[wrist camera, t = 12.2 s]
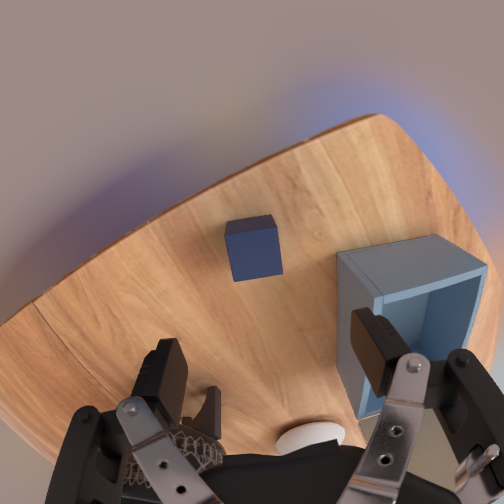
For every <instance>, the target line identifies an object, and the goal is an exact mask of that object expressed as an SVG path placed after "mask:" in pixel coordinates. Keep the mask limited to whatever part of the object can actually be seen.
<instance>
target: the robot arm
mask: <svg viewBox="0 0 504 504" xmlns="http://www.w3.org/2000/svg"><path fill="white" fill-rule="evenodd" d="M350 341H351V346H352V348H353V351H354V353H355V354H356V356H357V358H358V360H359V362H360V364H361V366H362V368H363V370H364V372H365V374H366V377H367V379H368V381H369V383H370V385H371V387H372V389H373V391H374V393H375V395H376V397H377V399H378V398H381V397H384V396H386V399H385V402H384V405H383V408H382V410H381V413H380V415H379V418H378V421H377V423H376V426H375V428H374V430H373V433H372V435H371V438H370V440H369V442H368V444H367V447H366V449H363V448H360V447H356V446H349V445H339V444H338V441H337V439H333V440H329V441H325V442H320V443H316V444H311V445H308V446H305V447H303V448H301V449H298V450H296V451H293V452H290V453H288V454H285V455H282V456H272V455H260V454H239V455H223V463H219V464H216V465H213V466H211V467H209V468H207V469H206V470H204V471H202V472H201V473H200V474H198V472H197V471H196V470H195V469H194V468H193V466H192V465H191V464H190V463H189V461H188V460H187V459H186V458H185V456H184V455H183V454H182V453H181V451H180V450H179V449H178V447H177V446H176V445H175V443H174V442H173V440H172V439H171V438H170V436H169V430H170V429H178V428H179V422H180V416H181V410H182V404H183V398H184V393H185V387H186V381H187V376H188V366H187V362H186V360H185V357H184V355H183V352H182V350H181V347H180V345H179V342H178V340H177V338H168V339H160V340H159V343H158V345H157V348H156V350H151V351H150V352H149V354H148V355H147V356H146V357H145V358H144V361H143V364H142V367H141V369H140V372H139V373H140V374H138V377H137V380H136V383H135V385H134V388H133V391H132V394H131V397H128V398H125V399H124V400H122V401H121V402H120V403H119V404H118V406H117V408H116V410H112V411H107V412H102V413H100V412H99V411H98V410H97V408H95V407H94V406H84V407H81V408H80V409H78V410H77V411H76V412H75V413H74V415H73V418H72V420H71V423H70V425H69V428H68V431H67V433H66V436H65V439H64V442H63V444H62V447H61V450H60V453H59V456H58V459H57V462H56V465H55V469H54V471H53V475H52V478H51V482H50V485H49V489H48V492H47V496H46V500H45V504H120V503H121V496H122V489H123V483H124V477H125V471H126V465H127V460H128V454H133V456H134V457H135V459H136V461H137V463H138V465H139V466H140V468H141V470H142V471H143V473H144V475H145V476H146V478H147V480H148V481H149V483H150V485H151V486H152V488H153V489H154V491H155V492H156V494H157V495H158V497H159V498H160V500H161V501H162V503H163V504H491V503H493V502H494V501H496V500H497V499H499V498H500V497H502V496H503V495H504V395H503V393H502V392H501V390H500V389H499V387H498V386H497V385H496V383H495V382H494V381H493V379H492V378H491V376H490V375H489V374H488V372H487V371H486V369H485V368H484V367H483V365H482V364H481V363H480V362H479V360H478V359H477V358H476V356H475V355H474V354H473V353H472V352H471V351H469V350H467V349H462V348H459V349H454V350H452V351H451V352H450V353H449V355H448V357H447V359H446V360H437V361H429V360H428V359H427V358H426V357H425V356H423V355H421V354H418V353H413V352H412V351H411V349H410V348H409V346H408V345H407V344H406V342H405V341H404V340H403V338H402V337H401V336H400V334H399V333H398V332H397V330H396V329H395V328H394V326H393V325H392V324H391V322H390V321H389V320H388V319H387V318H385V317H383V316H382V315H380V314H379V315H376V316H375V315H374V314H373V312H372V311H371V310H370V308H369V307H363V308H359V309H355V310H352V312H351V328H350ZM431 408H432V409H433V411H434V413H435V415H436V417H437V419H438V421H439V423H440V425H441V427H442V429H443V431H444V433H445V435H446V437H447V440H448V442H449V444H450V446H451V448H452V451H453V453H454V455H455V457H456V460H457V462H458V464H459V466H458V467H457V468H456V470H455V473H454V482H455V489H454V492H453V491H451V490H449V489H447V488H444V487H442V486H439V485H437V484H435V483H432V482H430V481H428V480H426V479H423V478H421V477H419V476H417V475H415V474H413V473H411V472H409V471H406V470H407V468H408V465H409V462H410V459H411V456H412V453H413V450H414V446H415V443H416V440H417V436H418V433H419V429H420V425H421V421H422V417H423V413H424V409H431Z"/></svg>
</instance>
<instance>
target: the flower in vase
mask: <svg viewBox="0 0 504 504" xmlns="http://www.w3.org/2000/svg"><path fill="white" fill-rule="evenodd" d="M344 437H345V430H344V428H343V427H342V426H340V425H338V424H336V423H333V422H314V423H308V424H304V425H301V426H298V427H295V428H293V429H291V430H289V431H287V432H286V433H284V434H283V435H282V436H281V437H280V438H279V439H278V441H277V443H276V450H277V451H278V453H279V454H280V455H281V456H282V455H285V454H288V453H290V452H293V451H296V450H298V449H301V448H303V447H305V446H308V445H311V444H316V443H320V442H325V441H329V440H333V439H337V441H338V444H339V445H341V443H342V442H343V440H344Z"/></svg>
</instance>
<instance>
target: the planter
mask: <svg viewBox="0 0 504 504" xmlns="http://www.w3.org/2000/svg"><path fill="white" fill-rule="evenodd" d="M169 436H170V438H171V439H172V440H173V442H174V443H175V445H176V446H177V447H178V449H179V450H180V451H181V453H182V454H183V455H184V456H185V458H186V459H187V460H188V461H189V463H190V464H191V465H192V466H193V468H194V469H195V470H196V471H197V472H198V474H200V473H201V472H202V471H204V470H206V469H207V468H209V467H211V466H213V465H216V464H219V463H223V455H227V454H226V451H225V449H224V447H223V446H222V445H221V444H220V443H219V442H218V441H217V440H218V439H221V391H220V390H219V389H218V388H217V387H216V386H214V387H211V388H208V391H207V395H206V399H205V402H204V404H203V406H202V408H201V410H200V412H199V413H198V414H197V416H196V417H195V418H194V419H193V420H192V418H188V417H183V419H182V424H181V425H180V424H179V428H178V429H170V430H169ZM120 504H163V503H162V501H161V500H160V498H159V497H158V495H157V494H156V492H155V491H154V489H153V488H152V486H151V485H150V483H149V481H148V480H147V478H146V476H145V475H144V473H143V471H142V470H141V468H140V466H139V465H138V463H137V461H136V459H135V457H134V456H133V454H128V460H127V465H126V471H125V477H124V483H123V489H122V496H121V503H120Z"/></svg>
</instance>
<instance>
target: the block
mask: <svg viewBox="0 0 504 504" xmlns="http://www.w3.org/2000/svg"><path fill="white" fill-rule="evenodd" d="M224 236H225V241H226V246H227V251H228V256H229V261H230V266H231V270H232V275H233V280H234V282H237V281H244V280H250V279H256V278H262V277H268V276H274V275H280V274H283V268H282V260H281V252H280V245H279V237H278V230H277V226H276V224H275V221H274V219H273V217H272V215H271V214H270V215H264V216H258V217H252V218H246V219H240V220H234V221H228V222H227V224H226V229H225V235H224Z"/></svg>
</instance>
